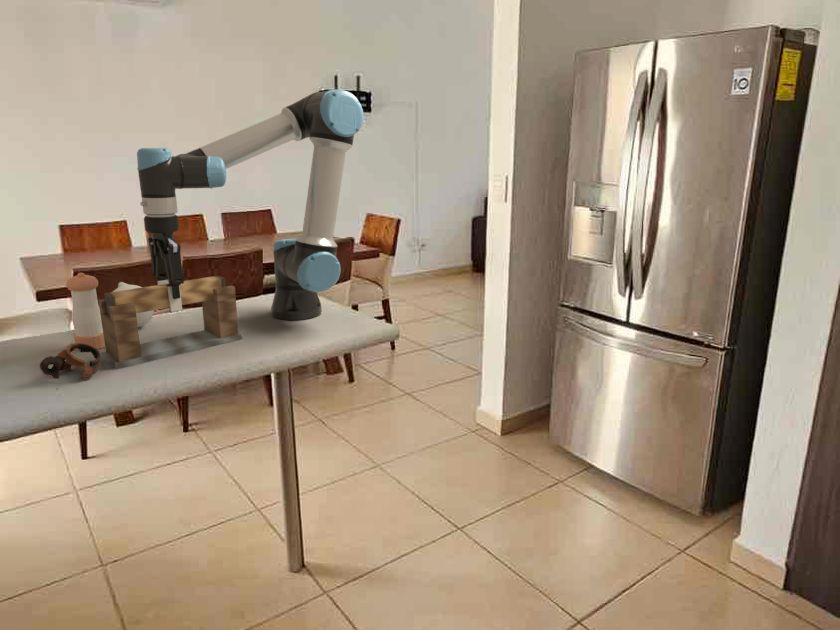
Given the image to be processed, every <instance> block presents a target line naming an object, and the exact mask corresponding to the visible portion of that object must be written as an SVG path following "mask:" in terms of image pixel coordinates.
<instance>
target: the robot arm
mask: <svg viewBox="0 0 840 630" xmlns="http://www.w3.org/2000/svg"><path fill="white" fill-rule="evenodd" d="M362 107H363V106H362V104H361V103H360V101H359V99H358V98H357V96H355V95H354V94H353V93H352V92H350V91H348V90H347V91H346V90H345V89H344V90H342V89H335V88H334V89H330V90H326V91H316V92H313V93H311V94H309V95H307V96H305V97H303V98H301V99H299V100H297V101H295V102H294V103H292V104H290V105H287V106H285V107H282V109H281V112H280V113H278V114H276V115H274V116H272V117H269V118H267V119H264V120H262V121H259V122H257V123H255V124H253V125H250V126H248V127H245V128H243V129H240V130H238V131H236V132H234V133H231V134H229V135H227V136H224V137H222V138H219V139H217V140H215V141H212V142H210V143H208V144H205V145H202V146H201V147H198V148H196V149H193V150H191V151H188V152H186V153H180V154H178V155H175V156H174V155H173V154H172V150H171V148H168V147H142V148H141V147H140V148H139V149H138V150H137V152H136V157H137V158H136V159H137V169H136V170H137V172H138V180H139V187H140V197H141V202H140V206H142V211H143V214H144V215H145V216H144V218H143V221H144V223H143V224H144V230H145V232H147V233H150V234H152V237H148V239H147V241H148V245H149V251H150V252H149V253H150V261H151V271H152V277H153V278H155V280H156V281H157V282H156V283H157V285H162V284H167V285H166V286H167V287H168V295H169V304H170V307H169V311H170V313H174V312H178V311H179V312H180V311H183V305H182V301H181V292H180V285H181V284H183V283H184V281H185V280H184V272H183V264H182V263H183V262H182V258H181V257H182V256H181V244H180V243H179V242H177V243H176V241H175V237H174V232H178V231H179V229H180V225H179V224H180V223H179V216H178V215H176V214H177V213H178V204H177V203H178V202H177V196H176V190H178V189H179V190H182V189H214V188H222V187H224V186H225V185H226V181H227V169H229V168H231V167H234V166H236V165H238V164H240V163H243V162H245V161H247V160H250V159H252V158H254V157H257V156H260V155H261V154H263V153H266V152H268V151H270V150H273V149H274V148H277V147H279V146H282V145H284V144H286V143H288V142H291V141H293V140H294V141H295V142H300V141H302V140H305V139H308V138H309V140H310V141H311V143H312V145H313V151H312V158H311V159H312V160H311V167H310V174H309V181H308V183H309V184H308V186H307V187H308V188H307V195H306V196H307V197H306V201H305V202H306V203H305V212H304V218H303V225H302V233H301V234H300V235H299V236H298V237H295V238H286V239H277V240H275V241H274V243H273V251H272V254H273V265H274V279H275V291H274V292H275V293H274V296H273V300H272V302H271V303H272V304H271V307H270V309H271V310H270V311H271V316H272V317H273V318H275V319H279V320H286V321H287V320H288V321H299V320H300V321H301V320H308V319H313V318H315V316H316V317H318V316H320V315H322V313H321V312H322V310H323V309H322V303H321V301H320V298H319V296H318V295H319V294H318V293H323V292H325V291H326V292H327V291H328V290H330V289H331V288H332V287H334V286H335V285H336V283H337V282H338V281H339V279H340V275H341V269H342V268H341V263H340V261H339V259H338V257H337V252H338V251H337V250H338V244H337V243H336V241H335V240H334V234H335V226H336V219H337V212H338V207H339V202H340V200H339V199H340V194H341V193H340V192H341V186H342V178H343V172H344V168H345V167H344V165H345V159H346V153H347V152H348V151H349V150H350V149H351V148H352V147H353V144H354V136H355V134H357V133H359V131H360V130H361V128H362V126H363V124H364V119H365V117H364V109H363V108H362ZM168 283H169V284H168ZM319 314H320V315H319ZM312 317H313V318H312Z"/></svg>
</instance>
